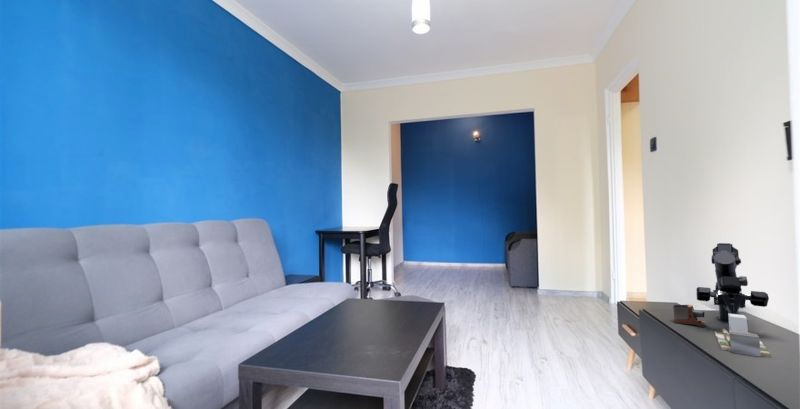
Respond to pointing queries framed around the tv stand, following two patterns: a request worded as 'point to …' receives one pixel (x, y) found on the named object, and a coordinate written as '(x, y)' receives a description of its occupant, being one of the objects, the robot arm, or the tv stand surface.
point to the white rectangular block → (737, 323)
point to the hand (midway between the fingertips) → (734, 316)
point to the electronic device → (687, 315)
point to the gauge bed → (742, 343)
